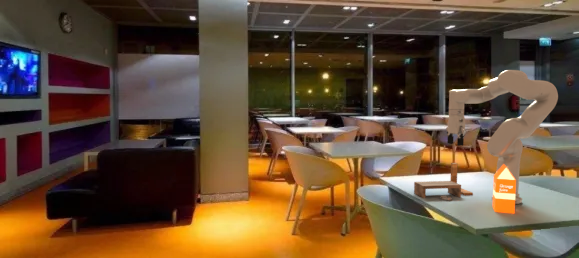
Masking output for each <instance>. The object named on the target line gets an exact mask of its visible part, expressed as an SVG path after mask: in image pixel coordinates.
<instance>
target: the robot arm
mask: <svg viewBox="0 0 579 258" xmlns="http://www.w3.org/2000/svg"><path fill="white" fill-rule="evenodd" d="M507 93H511V94H514V95H515V96H517V97H520V98H521V99H524V100H534V101H533V102H532V103H531V104H529V105H528V106H527V107H526V108H525V109H524V111H523V112H522V113H521V114H520V116H518V117H511V118H508V119H506V120H505V121H502V123H501V124H499V126H498V128H497V129H496V130H495V132H494V133H493V134H492V135H491V137H490V138H489V139H488V141H487V144H486V149H487V152H488V154H489V155H492V156H493V157H497V162H496V172H497V171H498V170H499V169H500V168H501V166H502V165H503V164H504V165H505V166H506V167H507V169H508V170H509V171H510V173H511V174H512V176H513V177H514V178H515V180H516V192H515V205H519V204H522V201H523V198H522V197H520V193H519V190H520V189H519V185H520V167H521V159H522V158H521V157H522V152H523V150H524V149H523V148H524V147H523V142H522V140H521V139H528V138H529V137H531V136H532V135H533V133H535V131H536V130H537V129H538V128H539V127H540V126H541V124H542V123H543V121H544V120H545V119H546V118H547V116H549V114H550V113H551V112H552V111H553V110H554V109H555V107H556V105H557V103H558V99H559V94H558V90H557V88H556V86H555V85H554V84H553V83H552V82H550V81H547V80H539V79H530V78H528V75H527V73H525V72H524V71H522V70H520V69H519V70H518V69H506V70H504V71H502V72H500V73H499V74H498V76H497V77H495V78H492V79H490V80H489V81H488V83H487V85H486V86H483V87H481V88H465V89H464V88H463V89H452V90H449V96H448V97H449V98H448V99H449V101H448V121H447V127H446V134H447V145H448V144H449V145H450V144H454V135H456V136H457V141H456V143H457V147H459V146H460V147H462V146H464V143H465V142H464V141H465V140H464V139H465V136H466V133H467V129H466V119H465V104H466V105H467V104H468V105H469V104H470V105H471V104H475V105H476V104H482V103H485V102H488V101H491V100H494V99H495V98H497V97H498V96H500V95H505V94H507ZM491 201H493V196H492V197H491Z"/></svg>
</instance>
